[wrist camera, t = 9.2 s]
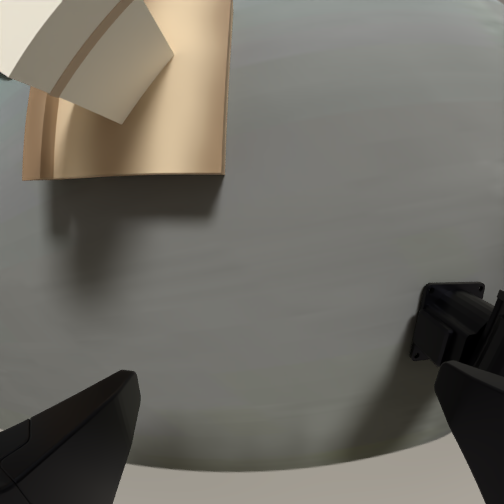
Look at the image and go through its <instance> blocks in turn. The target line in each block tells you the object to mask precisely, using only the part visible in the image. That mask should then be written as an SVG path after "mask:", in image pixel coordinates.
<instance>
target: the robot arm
mask: <svg viewBox="0 0 504 504" xmlns="http://www.w3.org/2000/svg"><path fill="white" fill-rule="evenodd" d="M479 287H480V289H479ZM430 288H432V290H431V291H430V292H429V290H430ZM484 289H485V285H484V284H483V283H481V282H448V283H428V284H427V285H426V286H425V287H424V291H423V297H422V302H421V307H420V311H419V314H418V318H417V323H416V328H415V332H414V336H413V343H412V347H411V351H410V358H411V359H412V360H413V361H419V360H426V359H430V360H431V361H432V362H433V363H434V364H435V365H436V366H437V367H440V370H439V373H438V376H437V379H436V381H435V385H434V389H435V393H436V395H437V397H438V400H439V402H440V405H441V407H442V410H443V412H444V415H445V417H446V420H447V422H448V425H449V427H450V429H451V431H452V433H453V435H454V437H455V439H456V441H457V443H458V445H459V447H460V449H461V451H462V453H463V455H464V457H465V459H466V461H467V463H468V465H469V468H470V469H471V472H472V474H473V476H474V478H475V480H476V483H477V485H478V487H479V489H480V492H481V494H482V496H483V499H484V501H485V503H486V504H504V291H502V290H499V292H498V295H497V301H496V304H495V306H493V305H492V304H490V303H488V302H486V301H484V300H483V294H484ZM416 353H417V355H416V356H415V354H416ZM140 401H141V395H140V390H139V384H138V379H137V375H136V373H135V372H134V371H128V370H120V371H118V372H116V373H114V374H112V375H111V376H109V377H107V378H105V379H103V380H102V381H100V382H98V383H96V384H94V385H92V386H90V387H89V388H87V389H85V390H83V391H81V392H79V393H77V394H75V395H74V396H72V397H70V398H68V399H66V400H64V401H62V402H60V403H58V404H56V405H55V406H53V407H51V408H49V409H47V410H45V411H43V412H41V413H39V414H37V415H35V416H33V417H31V418H30V419H27V420H25V421H23V422H21V423H19V424H17V425H15V426H13V427H11V428H8V429H6V430H4V431H2V432H0V504H113V501H114V497H115V494H116V491H117V488H118V485H119V481H120V479H121V475H122V473H123V470H124V466H125V464H126V461H127V458H128V455H129V452H130V448H131V445H132V440H133V435H134V430H135V426H136V421H137V416H138V411H139V407H140Z"/></svg>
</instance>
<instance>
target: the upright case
mask: <svg viewBox="0 0 504 504" xmlns="http://www.w3.org/2000/svg"><path fill="white" fill-rule="evenodd" d="M173 56H174V53H173V51H172V50H171V48H170V46H169V44H168V43H167V41H166V39H165V37H164V36H163V34H162V32H161V30H160V29H159V27H158V25H157V23H156V22H155V20H154V18H153V16H152V15H151V13H150V11H149V10H148V8H147V6H146V4H145V3H144V1H143V0H0V72H1V73H3V74H4V75H6V76H7V77H9V78H12V79H14V80H17V81H20V82H22V83H25V84H27V85H30V86H32V87H35V88H37V89H40V90H42V91H44V92H46V93H47V94H49V95H51V96H53V97H56V98H59V97H60V98H62V99H64V100H67V101H69V102H71V103H74V104H76V105H78V106H81V107H83V108H85V109H88V110H90V111H92V112H95V113H97V114H99V115H101V116H104V117H106V118H108V119H110V120H112V121H115V122H117V123H119V124H121V125H122V124H123V122H124V121H125V119H126V118H127V117H128V115H129V114H130V112H131V111H132V109H133V108H134V106H135V105H136V104H137V102H138V101H139V99H140V98H141V97H142V95H143V94H144V93H145V91H146V90H147V89H148V87H149V86H150V85H151V83H152V82H153V81H154V79H155V78H156V77H157V76H158V74H159V73H160V72H161V71H162V69H163V68H164V67H165V66H166V64H167V63H168V62H169V61H170V60H171V58H172V57H173Z"/></svg>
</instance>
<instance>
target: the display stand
mask: <svg viewBox="0 0 504 504" xmlns="http://www.w3.org/2000/svg"><path fill="white" fill-rule="evenodd" d="M143 1H144V3H145V4H146V6H147V8H148V10H149V11H150V13H151V15H152V16H153V18H154V20H155V22H156V23H157V25H158V27H159V29H160V30H161V32H162V34H163V36H164V37H165V39H166V41H167V43H168V44H169V46H170V48H171V50H172V51H173V53H174V56H173V57H172V58H171V60H170V61H169V62H168V63H167V64H166V66H165V67H164V68H163V69H162V71H161V72H160V73H159V74H158V76H157V77H156V78H155V79H154V81H153V82H152V83H151V85H150V86H149V87H148V89H147V90H146V91H145V93H144V94H143V95H142V97H141V98H140V99H139V101H138V102H137V104H136V105H135V106H134V108H133V109H132V111H131V112H130V114H129V115H128V117H127V118H126V119H125V121H124V122H123V124H122V125H121V124H119V123H117V122H115V121H112V120H110V119H108V118H106V117H104V116H101V115H99V114H97V113H95V112H92V111H90V110H88V109H85V108H83V107H81V106H78V105H76V104H74V103H71V102H69V101H67V100H64V99H62V98H60V97H59V98H56V97H53V96H51V95H49V94H47V93H46V92H44V91H42V90H40V89H37V88H35V87H32V86H31V88H30V94H29V100H28V108H27V116H26V125H25V136H24V150H23V173H22V181H27V180H62V179H75V178H91V177H109V176H134V175H225V156H226V130H227V108H228V88H229V70H230V53H231V38H232V23H233V0H143Z"/></svg>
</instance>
